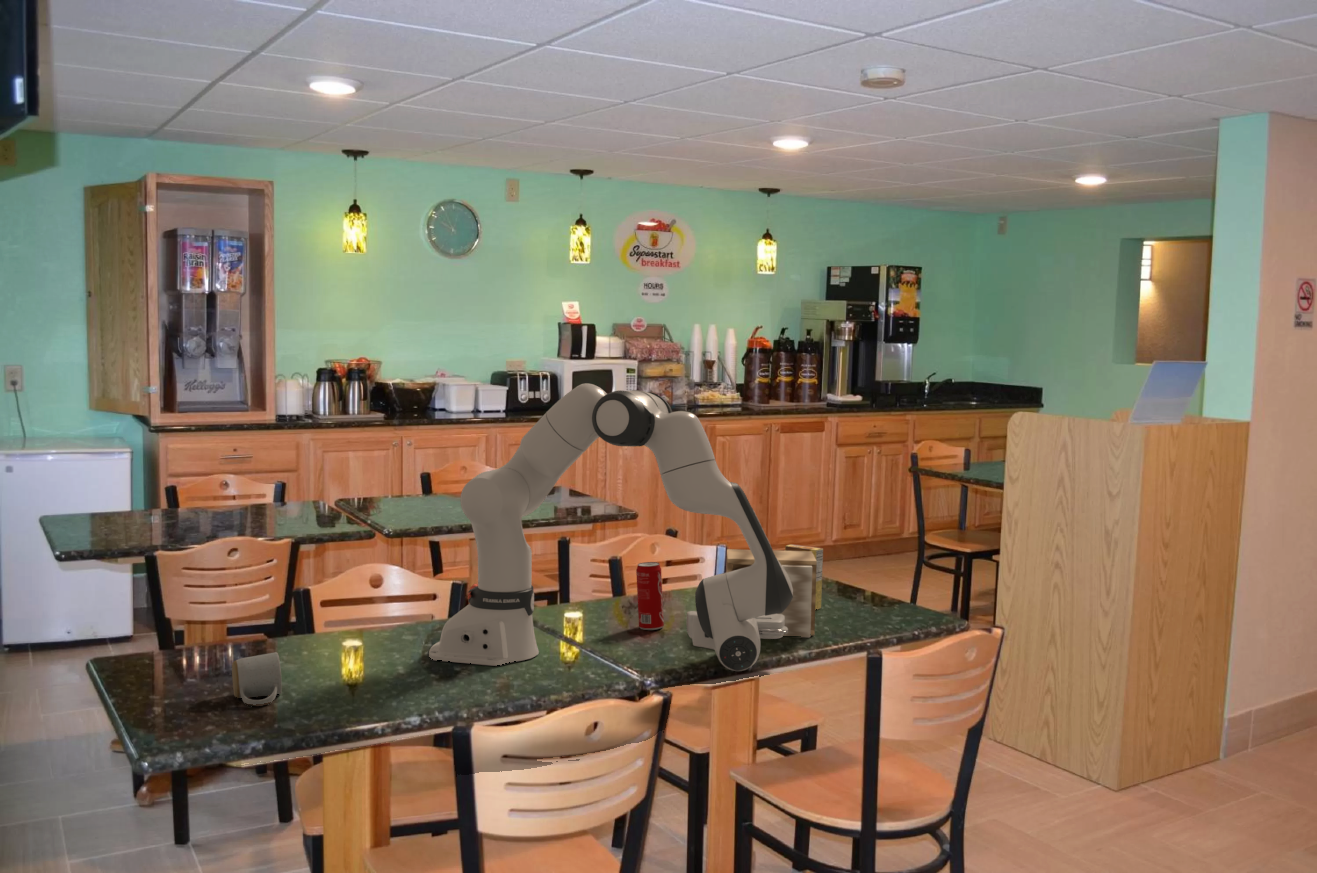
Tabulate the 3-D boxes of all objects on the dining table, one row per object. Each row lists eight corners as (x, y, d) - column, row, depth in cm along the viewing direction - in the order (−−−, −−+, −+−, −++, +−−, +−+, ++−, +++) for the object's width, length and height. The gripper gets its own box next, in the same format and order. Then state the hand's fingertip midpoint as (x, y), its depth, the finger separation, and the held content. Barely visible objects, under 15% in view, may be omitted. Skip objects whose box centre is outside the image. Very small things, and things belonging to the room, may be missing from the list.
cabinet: (716, 643, 244) (717, 567, 243) (715, 619, 266) (717, 548, 264) (818, 646, 243) (820, 569, 242) (809, 622, 265) (811, 551, 263)
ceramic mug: (231, 693, 205) (230, 652, 204) (277, 687, 208) (277, 647, 207) (236, 711, 195) (235, 668, 194) (285, 705, 199) (285, 663, 198)
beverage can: (663, 631, 254) (664, 566, 253) (634, 630, 254) (635, 565, 253) (663, 624, 260) (665, 561, 259) (635, 624, 260) (636, 560, 259)
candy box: (782, 606, 281) (784, 545, 280) (790, 603, 284) (792, 543, 283) (814, 611, 276) (816, 549, 275) (822, 608, 279) (823, 547, 278)
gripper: (789, 617, 221) (784, 601, 235) (685, 614, 222) (687, 598, 236) (788, 649, 221) (784, 631, 235) (685, 645, 222) (686, 628, 236)
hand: (734, 614), depth 235 cm, fingers open, 8 cm apart
